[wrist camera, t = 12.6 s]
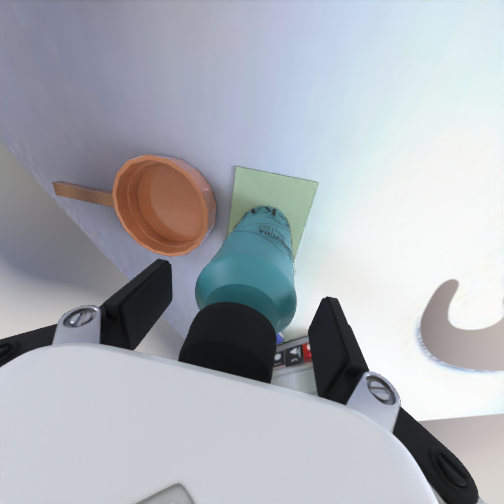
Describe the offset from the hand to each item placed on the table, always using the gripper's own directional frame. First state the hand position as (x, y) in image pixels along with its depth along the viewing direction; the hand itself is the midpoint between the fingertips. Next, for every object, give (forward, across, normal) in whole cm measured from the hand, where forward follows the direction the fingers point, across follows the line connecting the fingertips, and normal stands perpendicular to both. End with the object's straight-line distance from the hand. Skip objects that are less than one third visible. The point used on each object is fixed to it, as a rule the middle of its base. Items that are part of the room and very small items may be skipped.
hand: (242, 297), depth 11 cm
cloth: (+16, 0, 0) cm, 16 cm away
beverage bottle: (+15, 0, 0) cm, 15 cm away
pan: (+16, +13, 0) cm, 20 cm away
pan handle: (+14, +23, 0) cm, 26 cm away
